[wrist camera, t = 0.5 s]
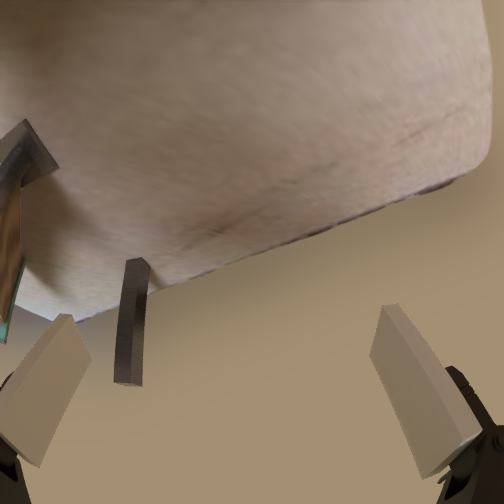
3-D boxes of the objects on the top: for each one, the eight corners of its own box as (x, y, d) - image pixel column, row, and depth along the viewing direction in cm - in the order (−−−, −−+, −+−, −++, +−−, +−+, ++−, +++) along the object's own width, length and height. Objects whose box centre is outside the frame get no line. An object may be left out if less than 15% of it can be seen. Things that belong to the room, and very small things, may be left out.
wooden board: (12, 169, 19) (-44, 283, 11) (26, 174, 20) (-26, 292, 13) (15, 261, 31) (-6, 340, 24) (25, 265, 32) (5, 344, 25)
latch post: (126, 260, 34) (113, 382, 25) (141, 257, 34) (130, 383, 25) (135, 269, 36) (125, 385, 27) (150, 266, 36) (142, 386, 27)
